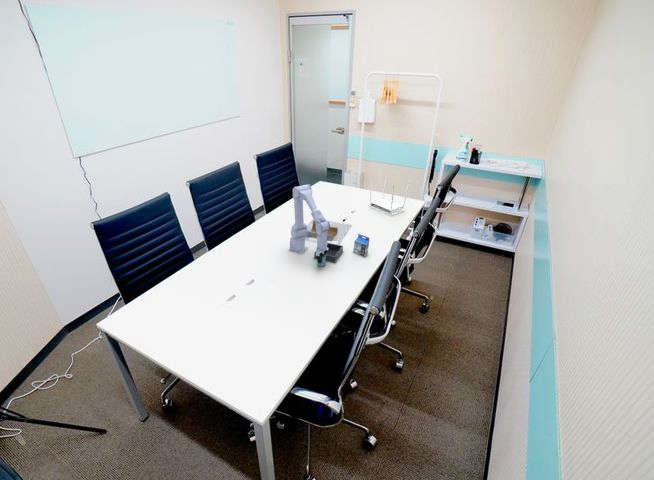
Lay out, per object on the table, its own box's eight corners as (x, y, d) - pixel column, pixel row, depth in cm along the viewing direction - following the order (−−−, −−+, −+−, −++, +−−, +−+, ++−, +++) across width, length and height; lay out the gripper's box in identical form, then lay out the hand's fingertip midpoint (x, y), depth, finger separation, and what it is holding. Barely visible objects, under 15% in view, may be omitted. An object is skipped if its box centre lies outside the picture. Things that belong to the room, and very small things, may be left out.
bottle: (315, 265, 199) (316, 252, 195) (318, 261, 203) (319, 248, 199) (323, 266, 198) (324, 254, 193) (326, 262, 202) (327, 250, 197)
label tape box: (352, 252, 215) (354, 235, 209) (356, 250, 218) (358, 233, 211) (364, 257, 210) (366, 239, 204) (367, 254, 213) (370, 237, 206)
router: (382, 201, 291) (386, 174, 278) (405, 210, 274) (410, 182, 261) (367, 206, 281) (370, 178, 268) (389, 216, 264) (394, 186, 251)
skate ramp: (296, 238, 232) (296, 228, 228) (314, 218, 259) (314, 209, 255) (336, 245, 222) (337, 235, 218) (350, 225, 250) (351, 215, 246)
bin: (314, 258, 208) (314, 252, 206) (323, 247, 220) (323, 241, 218) (335, 263, 204) (335, 257, 201) (342, 251, 216) (343, 245, 214)
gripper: (324, 247, 185) (323, 268, 192) (332, 236, 196) (331, 256, 204) (312, 245, 187) (312, 265, 195) (321, 234, 199) (320, 254, 206)
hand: (321, 260), depth 199 cm, fingers closed on bottle, 5 cm apart
